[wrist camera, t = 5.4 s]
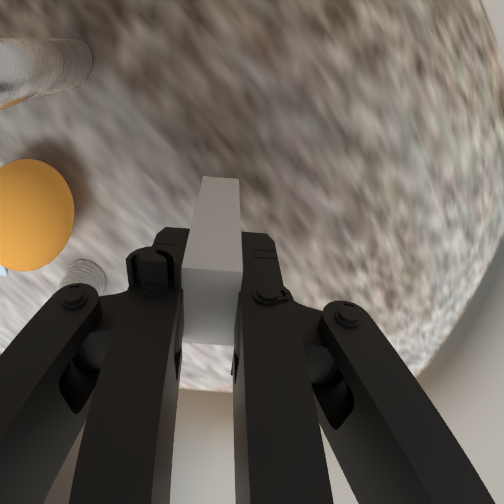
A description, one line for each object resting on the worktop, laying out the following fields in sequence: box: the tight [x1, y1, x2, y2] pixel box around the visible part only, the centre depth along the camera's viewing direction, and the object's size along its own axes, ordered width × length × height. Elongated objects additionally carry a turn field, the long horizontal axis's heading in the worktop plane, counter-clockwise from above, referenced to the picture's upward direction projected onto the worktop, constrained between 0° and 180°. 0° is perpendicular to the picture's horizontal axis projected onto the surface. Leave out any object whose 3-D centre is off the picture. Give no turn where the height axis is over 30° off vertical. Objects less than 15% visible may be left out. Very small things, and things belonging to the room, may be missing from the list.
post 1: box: [0, 38, 93, 109], centre depth 8 cm, size 3×3×8 cm
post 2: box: [54, 260, 106, 296], centre depth 15 cm, size 3×3×8 cm
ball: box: [0, 159, 74, 271], centre depth 13 cm, size 6×6×6 cm
